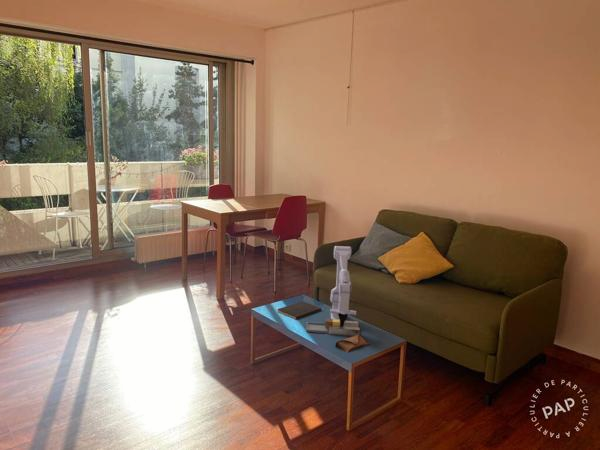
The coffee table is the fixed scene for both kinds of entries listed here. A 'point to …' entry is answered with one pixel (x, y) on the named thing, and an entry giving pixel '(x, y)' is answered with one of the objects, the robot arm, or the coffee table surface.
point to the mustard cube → (336, 322)
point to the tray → (316, 327)
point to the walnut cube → (328, 323)
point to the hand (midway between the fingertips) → (341, 326)
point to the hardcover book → (299, 310)
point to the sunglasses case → (351, 343)
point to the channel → (345, 329)
